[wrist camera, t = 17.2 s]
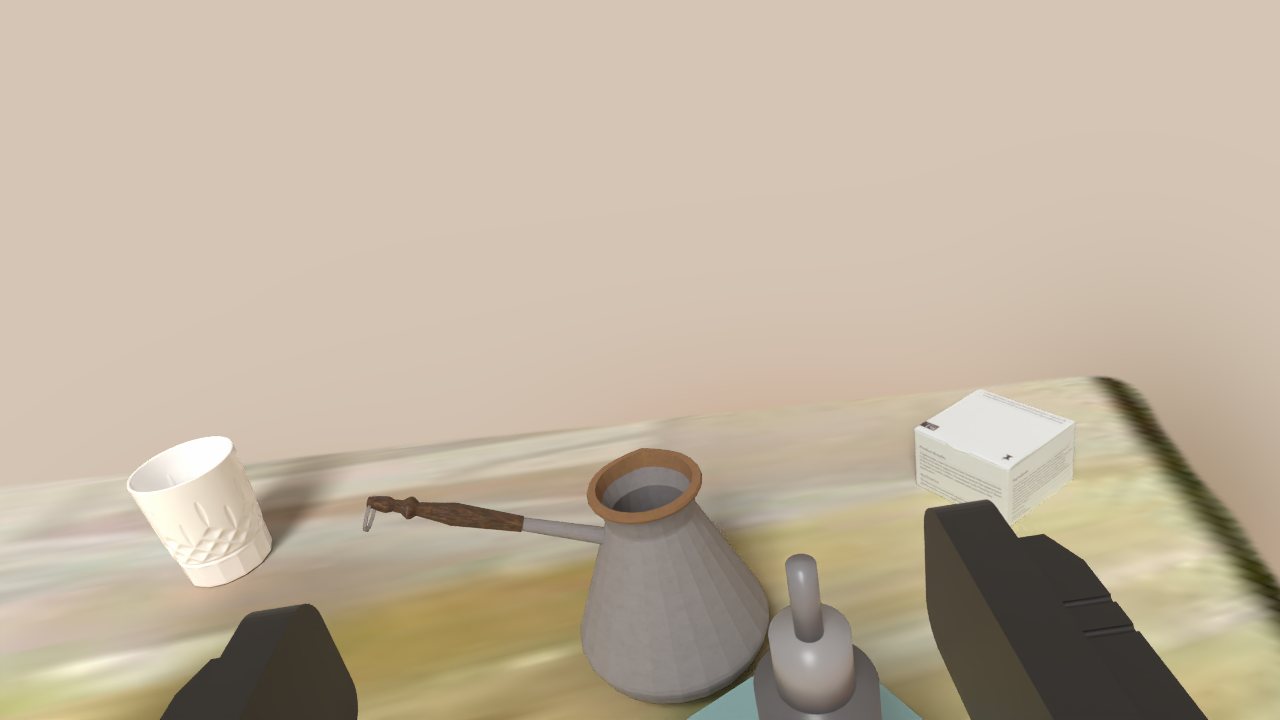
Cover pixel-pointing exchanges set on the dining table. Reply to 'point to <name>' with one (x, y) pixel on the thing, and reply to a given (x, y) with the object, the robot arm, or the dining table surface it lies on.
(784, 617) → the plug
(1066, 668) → the robot arm
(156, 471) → the white cup
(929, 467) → the small box
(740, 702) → the socket plate
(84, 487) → the dining table surface
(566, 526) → the coffee pot
